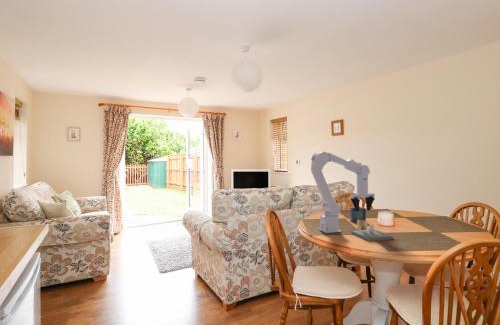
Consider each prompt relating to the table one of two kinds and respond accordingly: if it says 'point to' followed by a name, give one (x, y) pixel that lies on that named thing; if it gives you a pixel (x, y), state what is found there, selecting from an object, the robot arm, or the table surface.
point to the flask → (357, 214)
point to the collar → (361, 225)
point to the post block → (372, 234)
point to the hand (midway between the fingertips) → (362, 210)
